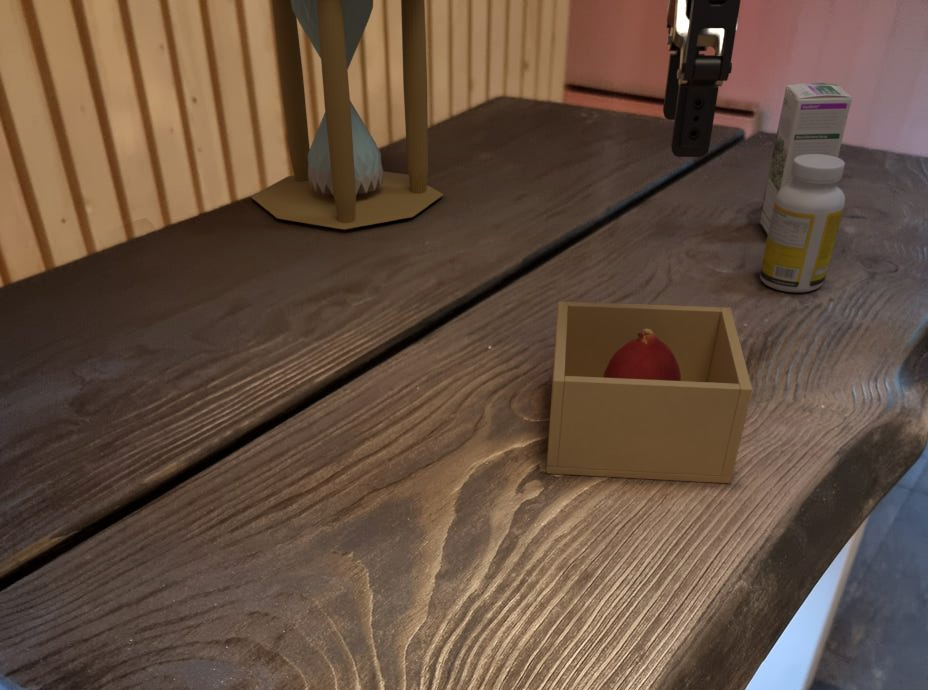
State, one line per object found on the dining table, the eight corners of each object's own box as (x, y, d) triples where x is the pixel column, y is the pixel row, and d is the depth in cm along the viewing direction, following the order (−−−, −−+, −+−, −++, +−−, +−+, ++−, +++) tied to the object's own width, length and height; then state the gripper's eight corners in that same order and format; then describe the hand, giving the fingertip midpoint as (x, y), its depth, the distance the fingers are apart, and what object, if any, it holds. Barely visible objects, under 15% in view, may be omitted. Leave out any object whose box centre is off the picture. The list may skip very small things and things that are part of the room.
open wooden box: (713, 395, 78) (730, 307, 73) (730, 483, 68) (752, 389, 63) (551, 387, 79) (558, 300, 74) (546, 473, 69) (552, 380, 64)
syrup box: (819, 241, 104) (857, 95, 94) (767, 241, 104) (799, 95, 94) (806, 223, 108) (840, 82, 98) (755, 223, 108) (785, 82, 99)
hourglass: (476, 197, 116) (478, -49, 99) (343, 246, 104) (320, -25, 87) (350, 160, 128) (333, -65, 111) (218, 200, 116) (176, -45, 99)
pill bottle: (822, 274, 97) (854, 153, 89) (823, 298, 93) (857, 173, 85) (758, 268, 98) (784, 148, 91) (756, 291, 94) (784, 168, 86)
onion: (623, 400, 76) (635, 305, 71) (685, 422, 74) (703, 325, 68) (584, 428, 73) (594, 331, 68) (648, 452, 70) (664, 353, 65)
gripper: (831, -206, 43) (757, 171, 54) (784, -209, 53) (730, 107, 64) (666, -202, 44) (627, 169, 55) (652, -206, 54) (621, 107, 65)
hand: (683, 135), depth 59 cm, fingers open, 8 cm apart
